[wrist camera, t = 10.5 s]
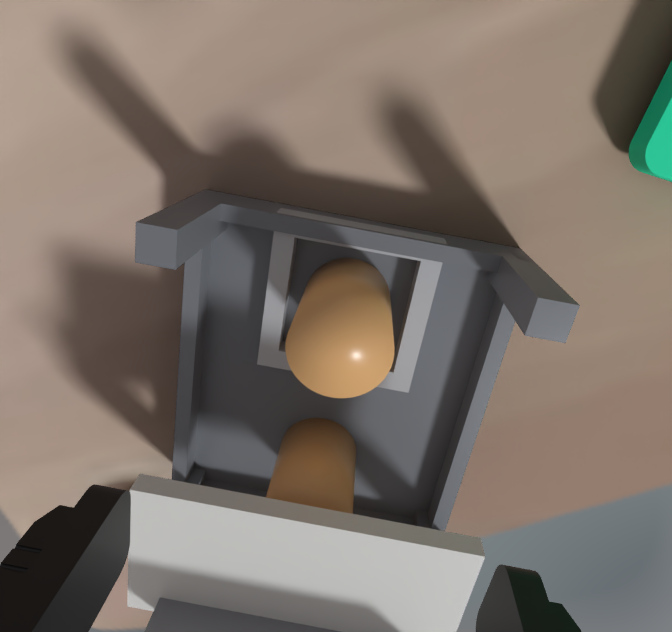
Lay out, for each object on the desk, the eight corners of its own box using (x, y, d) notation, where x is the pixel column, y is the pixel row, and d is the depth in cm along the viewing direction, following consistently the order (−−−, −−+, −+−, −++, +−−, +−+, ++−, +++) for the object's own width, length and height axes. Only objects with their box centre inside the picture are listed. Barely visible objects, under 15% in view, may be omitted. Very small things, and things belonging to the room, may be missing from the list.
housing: (205, 189, 25) (135, 222, 18) (520, 248, 25) (579, 305, 18) (185, 474, 32) (128, 582, 25) (433, 521, 32) (450, 643, 25)
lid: (140, 473, 22) (92, 547, 18) (480, 538, 22) (501, 624, 18) (136, 587, 25) (94, 671, 21) (440, 645, 25) (451, 739, 21)
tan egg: (311, 250, 25) (293, 290, 20) (398, 266, 25) (405, 310, 20) (299, 330, 27) (279, 387, 21) (381, 345, 27) (382, 406, 21)
